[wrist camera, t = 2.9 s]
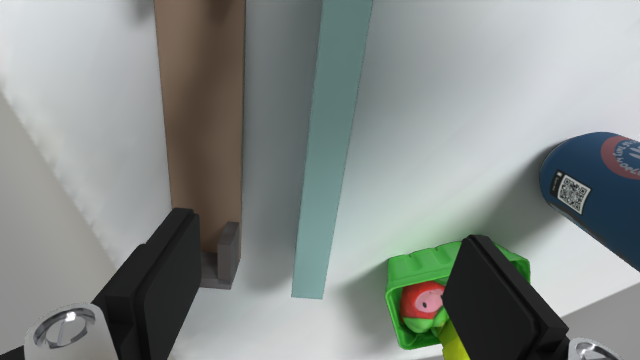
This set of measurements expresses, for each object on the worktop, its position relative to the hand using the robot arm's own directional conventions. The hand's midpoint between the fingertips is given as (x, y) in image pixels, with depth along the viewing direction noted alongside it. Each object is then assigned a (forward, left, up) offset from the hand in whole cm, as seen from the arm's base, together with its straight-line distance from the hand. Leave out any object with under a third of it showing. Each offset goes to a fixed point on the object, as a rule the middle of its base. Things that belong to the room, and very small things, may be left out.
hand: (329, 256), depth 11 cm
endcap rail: (+9, 0, -15) cm, 17 cm away
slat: (0, -1, -15) cm, 15 cm away
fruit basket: (-13, +13, -15) cm, 24 cm away
